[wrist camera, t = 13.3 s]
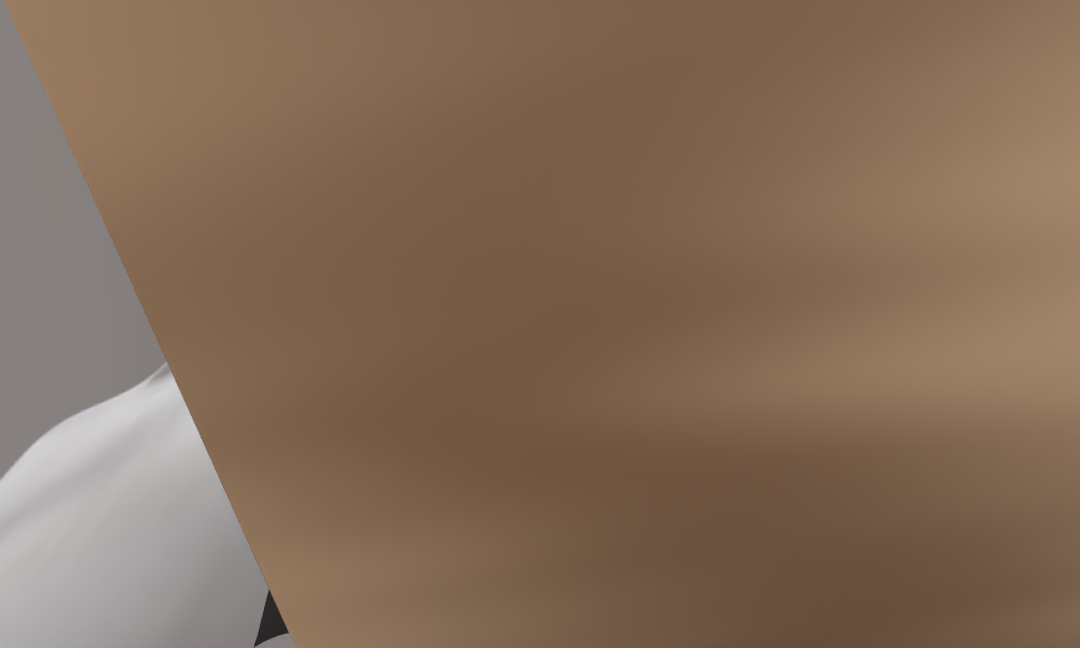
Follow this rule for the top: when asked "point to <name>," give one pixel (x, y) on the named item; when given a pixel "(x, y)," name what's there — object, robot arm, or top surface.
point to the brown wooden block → (611, 307)
